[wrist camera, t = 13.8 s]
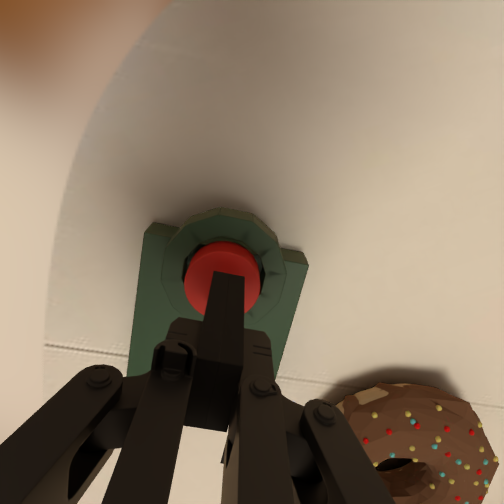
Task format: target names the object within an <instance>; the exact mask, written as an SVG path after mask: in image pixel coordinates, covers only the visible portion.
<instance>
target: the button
mask: <svg viewBox="0 0 504 504" xmlns="http://www.w3.org/2000/svg"><path fill="white" fill-rule="evenodd" d="M214 271H219V272H224V273H229V274H234V275H239V276H244V277H245V300H244V314H245V313H246V312H247V311H249V310H250V309H251V308H252V307H253V305H254V304H255V303H256V301H257V299H258V296H259V293H260V276H259V268H258V264H257V261H256V259H255V258H254V256H253V255H252V254H251V252H250V251H249V250H247V249H246V248H245V247H243V246H242V245H240V244H237V243H234V242H230V241H216V242H212V243H209V244H207V245H205V246H203V247H202V248H200V249H199V250H198V251H197V252H196V253H195V255H194V256H193V258H192V259H191V262H190V264H189V267H188V270H187V273H186V276H185V280H184V289H185V294H186V297H187V299H188V301H189V302H190V304H191V305H192V306H193V307H194V308H195V309H196V310H197V311H198V312H199V313H201V314H203V315H204V314H205V310H206V305H207V300H208V295H209V291H210V286H211V281H212V276H213V272H214Z"/></svg>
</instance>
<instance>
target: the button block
mask: <svg viewBox="0 0 504 504" xmlns="http://www.w3.org/2000/svg"><path fill="white" fill-rule="evenodd" d="M216 241H230V242H234V243H237V244H240V245H242V246H243V247H245V248H246V249H247V250H249V251H250V252H251V254H252V255H253V256H254V258H255V259H256V261H257V264H258V268H259V276H260V293H259V296H258V299H257V301H256V303H255V304H254V305H253V307H252V308H251V309H250V310H249V311H247V312H246V313H245V314H244V328H247V329H253V330H258V331H264V332H265V333H266V334H267V336H268V337H269V338H270V340H271V350H272V359H273V369H274V379H275V378H276V375H277V372H278V368H279V365H280V361H281V358H282V355H283V351H284V348H285V345H286V341H287V338H288V334H289V331H290V328H291V324H292V321H293V318H294V314H295V311H296V307H297V304H298V301H299V297H300V294H301V290H302V287H303V284H304V280H305V277H306V274H307V270H308V267H309V265H308V262H307V260H306V257H305V255H304V253H302V252H297V251H293V250H288V249H283V248H280V246H279V243H278V240H277V236H276V235H275V233H274V232H273V231H272V230H271V229H270V228H268V227H267V226H266V225H265V224H264V223H263V222H262V221H261V220H259V219H258V218H257V217H256V216H255V215H254V214H252V213H248V212H243V211H238V210H234V209H229V208H224V207H221V208H220V207H219V208H215V209H212V210H209V211H206V212H203V213H200V214H197V215H193V216H191V217H189V218H188V219H187V221H186V222H185V223H184V224H183V225H182V226H181V227H180V228H178V227H174V226H169V225H164V224H159V223H154V222H153V223H152V224H151V225H150V227H149V228H148V229H147V230H146V231H145V232H144V238H143V246H142V254H141V263H140V271H139V279H138V287H137V295H136V303H135V311H134V319H133V327H132V336H131V344H130V352H129V360H128V368H127V376H126V377H130V376H138V375H142V374H145V373H147V372H148V371H150V370H151V365H152V358H153V351H154V348H155V346H156V345H157V344H158V343H160V342H162V341H164V340H165V338H166V335H167V333H168V330H169V327H170V324H171V322H173V321H174V320H175V319H177V318H178V317H182V318H188V319H193V320H199V321H203V319H204V315H203V314H201V313H199V312H198V311H197V310H196V309H195V308H194V307H193V306H192V305H191V304H190V302H189V301H188V299H187V297H186V294H185V289H184V280H185V276H186V273H187V270H188V267H189V264H190V262H191V259H192V258H193V256H194V255H195V253H196V252H197V251H198V250H199V249H200V248H202V247H203V246H205V245H207V244H209V243H212V242H216Z"/></svg>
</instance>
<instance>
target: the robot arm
mask: <svg viewBox="0 0 504 504" xmlns="http://www.w3.org/2000/svg"><path fill="white" fill-rule="evenodd" d="M244 300H245V277H244V276H239V275H234V274H229V273H224V272H219V271H214V272H213V276H212V281H211V286H210V291H209V295H208V300H207V305H206V310H205V314H204V319H203V321H199V320H193V319H188V318H182V317H178V318H177V319H175V320H174V321H173V322H171V324H170V327H169V330H168V333H167V335H166V338H165V340H164V341H162V342H160V343H158V344H157V345H156V346H155V348H154V351H153V358H152V365H151V370H150V371H148V372H147V373H145V374H142V375H138V376H130V377H123V375H122V373H121V372H120V371H119V370H118V369H117V368H115V367H113V366H109V365H104V364H103V365H93V366H90V367H87V368H85V369H83V370H82V371H80V372H79V373H78V374H77V375H75V376H74V377H73V378H72V379H71V380H70V381H69V382H68V383H67V384H66V385H65V386H64V387H62V388H61V389H60V390H59V391H58V392H57V393H56V394H55V395H54V396H53V397H52V398H51V399H49V400H48V401H47V402H46V403H45V404H44V405H43V406H42V407H41V408H40V409H39V410H38V411H37V412H35V413H34V414H33V415H32V416H31V417H30V418H29V419H28V420H27V421H26V422H25V423H23V424H22V425H21V426H20V427H19V428H18V429H17V430H16V431H15V432H14V433H13V434H12V435H10V436H9V437H8V438H7V439H6V440H5V441H4V442H3V443H2V444H1V445H0V504H77V503H78V501H79V500H80V498H81V497H82V496H83V494H84V493H85V491H86V490H87V489H88V487H89V486H90V484H91V483H92V481H93V480H94V479H95V477H96V476H97V474H98V473H99V471H100V470H101V469H102V467H103V466H104V464H105V463H106V462H107V460H108V459H109V457H110V456H111V454H112V453H113V451H114V449H115V448H122V449H121V452H120V455H119V458H118V460H117V463H116V466H115V468H114V471H113V474H112V477H111V479H110V482H109V485H108V487H107V490H106V493H105V496H104V498H103V501H102V504H168V499H169V494H170V489H171V484H172V479H173V474H174V469H175V464H176V459H177V454H178V449H179V444H180V439H181V434H182V429H183V425H184V426H190V427H197V428H203V429H209V430H216V431H222V432H227V429H228V425H229V429H228V436H227V440H226V444H225V448H224V452H223V456H222V460H221V463H223V464H224V468H223V482H222V497H221V504H396V503H395V501H394V499H393V498H392V496H391V494H390V493H389V491H388V489H387V487H386V486H385V484H384V482H383V481H382V479H381V477H380V476H379V474H378V472H377V470H376V469H375V467H374V465H373V464H372V462H371V460H370V459H369V457H368V455H367V453H366V452H365V450H364V448H363V447H362V445H361V443H360V442H359V440H358V438H357V436H356V435H355V433H354V431H353V430H352V428H351V426H350V425H349V423H348V421H347V419H346V418H345V416H344V414H343V413H342V412H341V411H340V410H339V408H337V407H336V406H335V405H333V404H332V403H330V402H327V401H325V400H319V399H314V400H310V401H309V402H307V403H306V404H305V407H304V406H302V405H299V404H297V403H295V402H293V401H291V400H289V399H287V398H286V397H284V396H283V395H282V394H281V390H280V388H279V386H278V385H277V383H276V382H275V379H274V369H273V359H272V350H271V340H270V338H269V337H268V336H267V334H266V333H265V332H264V331H258V330H253V329H247V328H244Z"/></svg>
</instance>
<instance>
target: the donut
mask: <svg viewBox="0 0 504 504" xmlns="http://www.w3.org/2000/svg"><path fill="white" fill-rule="evenodd" d="M336 407H337V408H339V410H340V411H341V412H342V413H343V414H344V416H345V418H346V419H347V421H348V423H349V425H350V426H351V428H352V430H353V431H354V433H355V435H356V436H357V438H358V440H359V442H360V443H361V445H362V447H363V448H364V450H365V452H366V453H367V455H368V457H369V459H370V460H371V462H372V464H373V465H374V467H376V466H377V465H378V464H379V463H381V462H382V461H384V460H386V459H389V458H411V459H412V460H413V461H411V462H410V463H408V464H406V465H404V466H402V467H400V468H396V469H392V470H386V471H378V470H377V472H378V474H379V476H380V477H381V479H382V481H383V482H384V484H385V486H386V487H387V489H388V491H389V493H390V494H391V496H392V498H393V499H394V501H395V503H396V504H481V503H482V501H483V499H484V497H485V495H486V494H487V493H488V488H489V485H490V483H491V481H492V478H493V476H494V474H495V472H496V469H497V467H498V465H499V463H498V457H497V456H495V454H494V452H493V450H492V448H491V446H490V444H489V441H488V439H487V437H486V436H485V434H484V431H483V428H482V423H481V422H480V419H479V418H478V416H477V414H476V413H475V412H474V411H473V410H472V407H471V405H470V403H469V402H466V401H464V400H462V399H459V398H457V397H455V396H452V395H450V394H448V393H446V392H445V391H443V390H440V389H438V388H436V387H430V386H423V385H417V384H404V383H402V384H391V385H390V384H385V383H381V382H379V383H378V384H377V385H376V386H375V387H374V388H370V389H367V390H364V391H360V392H358V393H356V394H354V395H346V396H345V398H344V400H343V401H341V402H339V403H338V404H337V405H336Z"/></svg>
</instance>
